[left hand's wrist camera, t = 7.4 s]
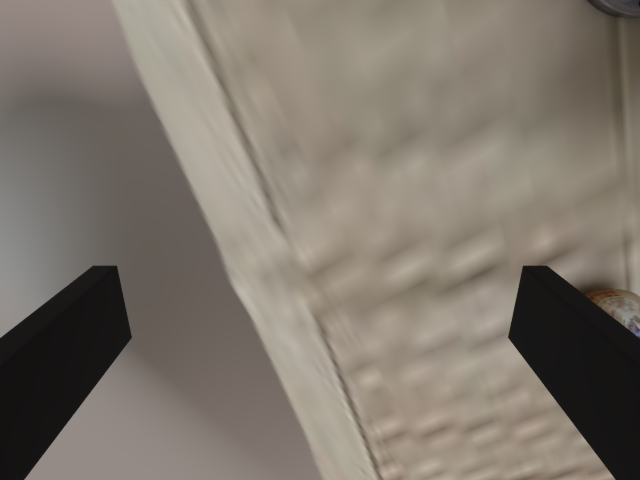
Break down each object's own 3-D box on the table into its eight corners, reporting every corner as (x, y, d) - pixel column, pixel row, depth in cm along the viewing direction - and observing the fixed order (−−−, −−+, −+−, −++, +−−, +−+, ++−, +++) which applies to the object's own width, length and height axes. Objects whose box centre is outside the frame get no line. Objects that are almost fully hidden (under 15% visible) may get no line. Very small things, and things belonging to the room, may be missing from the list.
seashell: (618, 269, 49) (671, 301, 42) (625, 305, 51) (677, 342, 44) (543, 297, 51) (581, 333, 43) (553, 331, 52) (591, 371, 45)
